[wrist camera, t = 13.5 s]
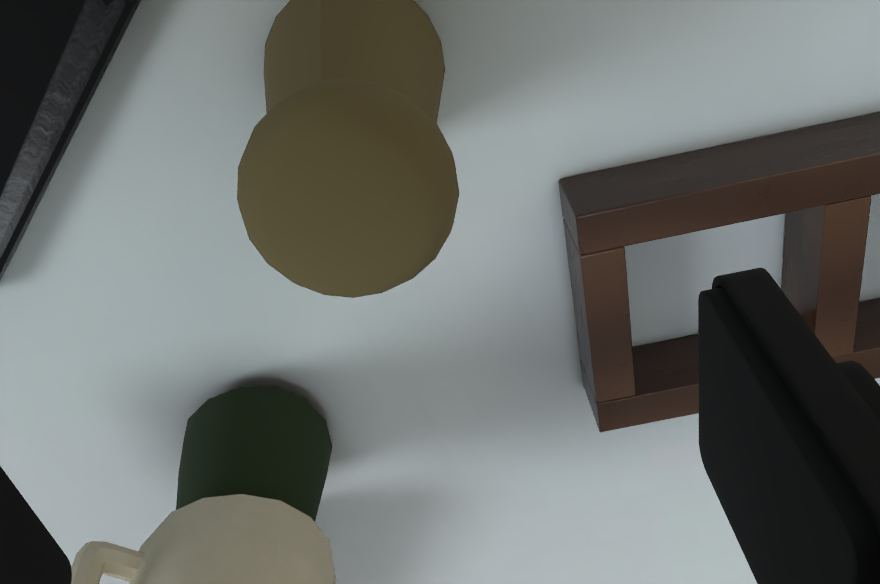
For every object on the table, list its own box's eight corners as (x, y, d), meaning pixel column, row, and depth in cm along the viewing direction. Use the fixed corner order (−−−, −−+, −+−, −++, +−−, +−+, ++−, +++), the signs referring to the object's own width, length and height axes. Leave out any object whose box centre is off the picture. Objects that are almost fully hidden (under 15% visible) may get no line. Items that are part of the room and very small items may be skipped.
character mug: (110, 441, 35) (-8, 745, 24) (171, 324, 32) (68, 612, 21) (333, 518, 38) (320, 811, 28) (408, 419, 35) (425, 706, 25)
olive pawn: (443, 152, 29) (479, 332, 19) (273, 156, 28) (227, 341, 19) (445, -25, 25) (490, 89, 16) (253, -24, 25) (185, 94, 16)
